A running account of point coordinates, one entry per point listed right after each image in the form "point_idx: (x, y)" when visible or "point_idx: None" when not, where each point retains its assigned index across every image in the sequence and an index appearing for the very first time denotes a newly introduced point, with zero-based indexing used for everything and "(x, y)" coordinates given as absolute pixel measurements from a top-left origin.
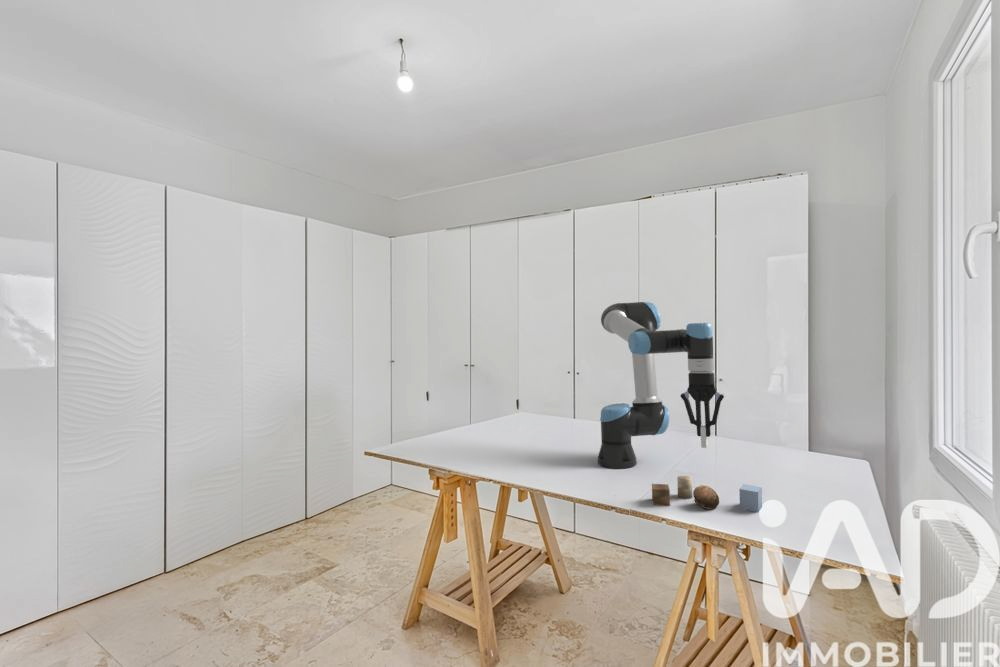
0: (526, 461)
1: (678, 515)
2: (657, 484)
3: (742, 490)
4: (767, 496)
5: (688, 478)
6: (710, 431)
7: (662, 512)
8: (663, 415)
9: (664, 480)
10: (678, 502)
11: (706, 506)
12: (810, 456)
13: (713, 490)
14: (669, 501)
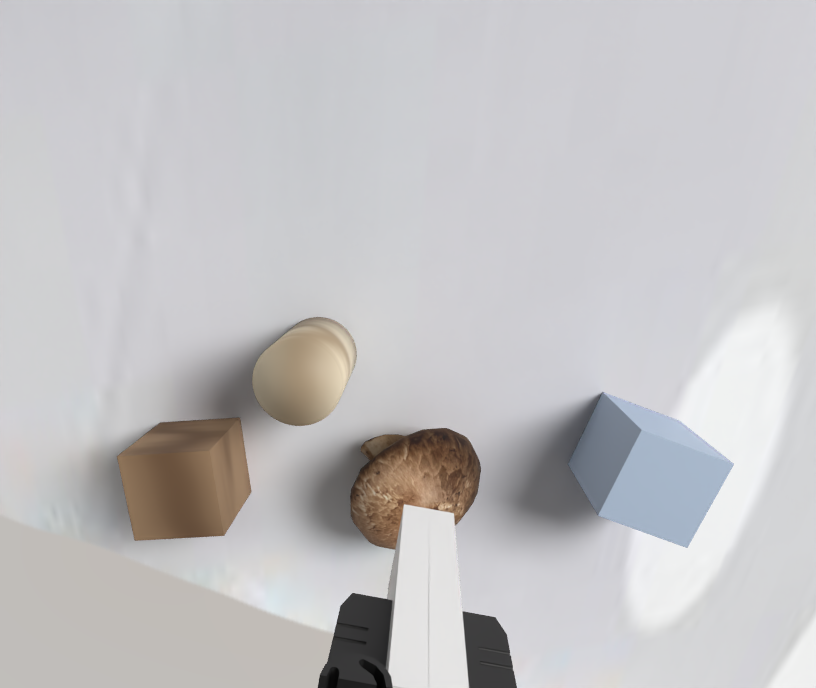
0: None
1: (292, 590)
2: (150, 462)
3: (611, 517)
4: (753, 262)
5: (320, 387)
6: (512, 668)
7: (224, 572)
8: None
9: (191, 89)
10: (288, 443)
11: None
12: None
13: (457, 492)
14: (242, 502)
